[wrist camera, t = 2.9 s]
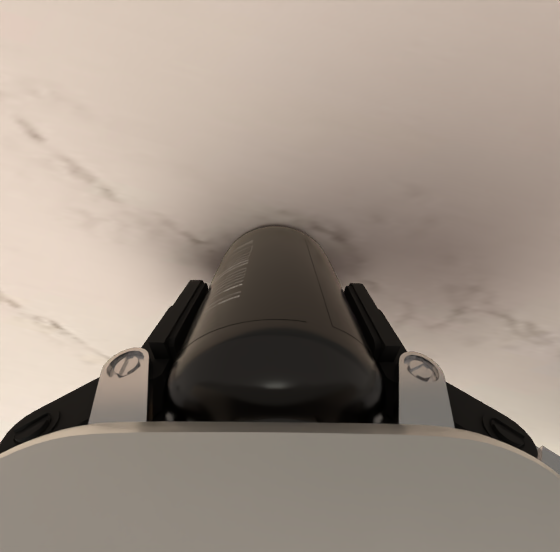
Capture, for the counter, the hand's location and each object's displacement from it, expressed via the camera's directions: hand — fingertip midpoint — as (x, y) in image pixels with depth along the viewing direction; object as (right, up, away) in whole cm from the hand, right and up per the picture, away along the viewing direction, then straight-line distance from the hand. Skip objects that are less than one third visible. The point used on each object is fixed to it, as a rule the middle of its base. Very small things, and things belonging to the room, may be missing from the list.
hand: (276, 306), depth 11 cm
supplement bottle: (0, +2, +3) cm, 4 cm away
